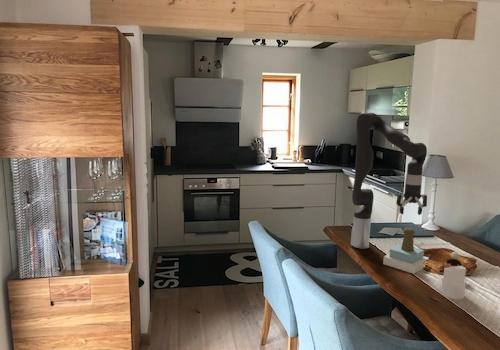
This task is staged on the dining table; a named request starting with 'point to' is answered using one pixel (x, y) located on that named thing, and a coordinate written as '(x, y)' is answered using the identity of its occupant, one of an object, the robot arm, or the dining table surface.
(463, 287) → the white upright block
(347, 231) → the dining table surface
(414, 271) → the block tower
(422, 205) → the robot arm
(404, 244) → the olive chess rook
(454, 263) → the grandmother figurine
